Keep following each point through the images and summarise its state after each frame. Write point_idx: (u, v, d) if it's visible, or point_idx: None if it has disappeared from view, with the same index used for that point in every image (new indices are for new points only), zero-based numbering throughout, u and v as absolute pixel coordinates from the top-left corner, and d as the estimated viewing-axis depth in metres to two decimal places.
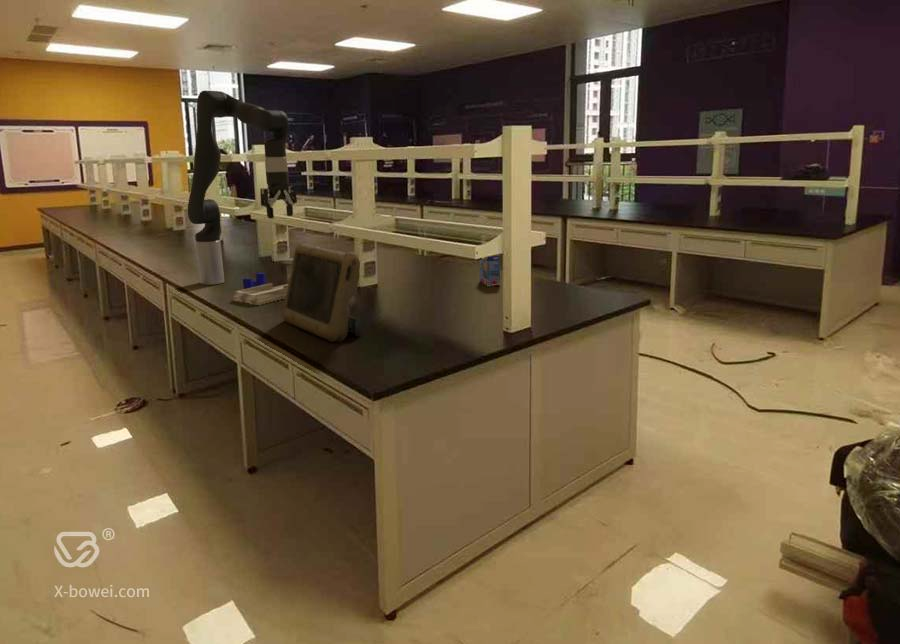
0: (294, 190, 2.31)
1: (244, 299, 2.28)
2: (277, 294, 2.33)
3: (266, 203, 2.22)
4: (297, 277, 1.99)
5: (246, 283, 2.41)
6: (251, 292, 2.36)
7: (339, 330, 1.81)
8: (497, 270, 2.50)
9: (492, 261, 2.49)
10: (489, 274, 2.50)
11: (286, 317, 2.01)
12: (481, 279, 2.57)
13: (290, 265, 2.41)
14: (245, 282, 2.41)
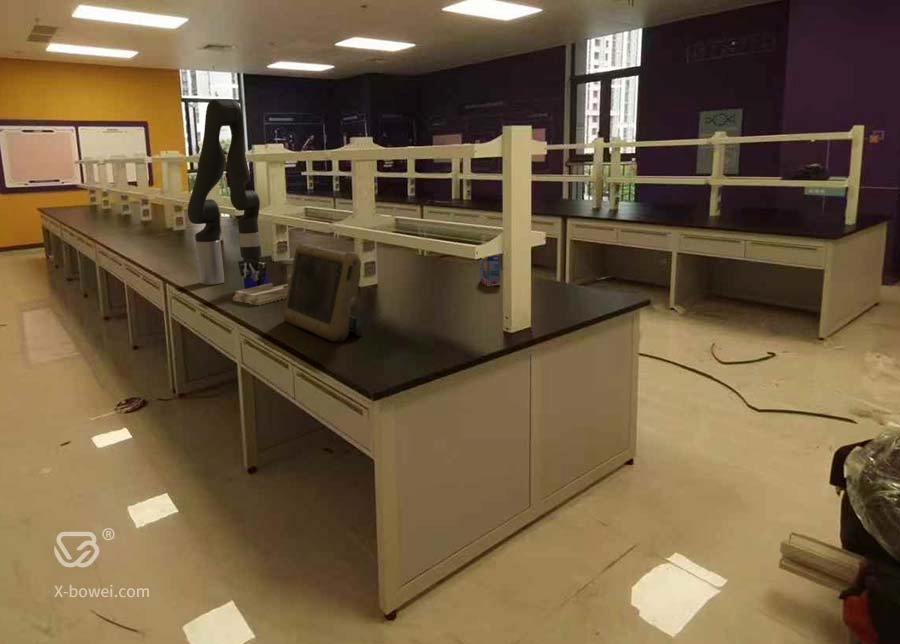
0: None
1: (244, 299, 2.28)
2: (277, 294, 2.33)
3: None
4: (298, 277, 1.99)
5: (247, 283, 2.41)
6: (251, 292, 2.36)
7: (340, 330, 1.82)
8: (497, 270, 2.50)
9: (492, 261, 2.49)
10: (489, 274, 2.50)
11: (287, 317, 2.01)
12: (481, 279, 2.57)
13: (290, 265, 2.41)
14: (246, 281, 2.41)
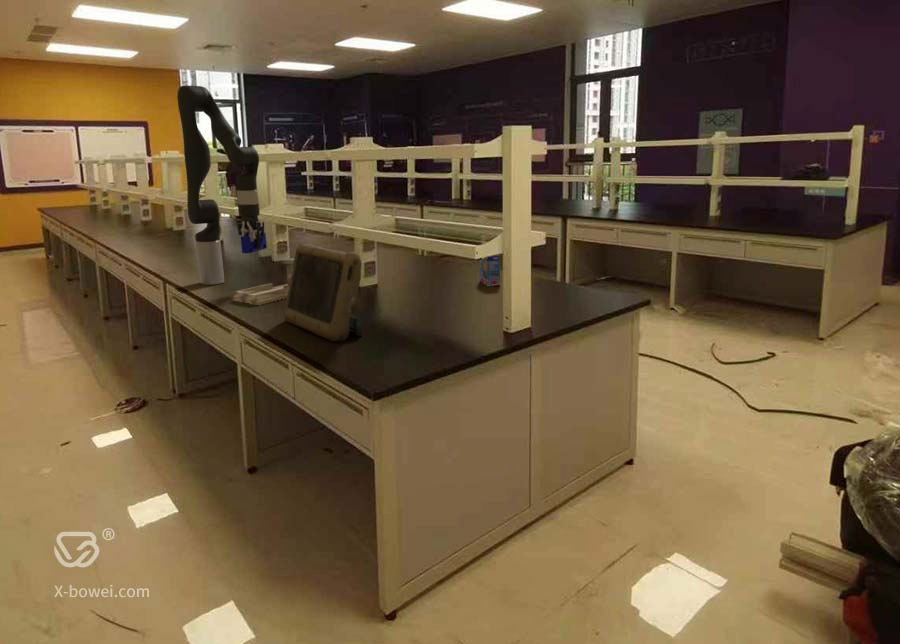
0: None
1: (244, 299, 2.28)
2: (277, 294, 2.33)
3: None
4: (298, 277, 1.99)
5: (244, 241, 2.38)
6: (251, 292, 2.36)
7: (340, 329, 1.82)
8: (497, 270, 2.50)
9: (492, 261, 2.49)
10: (489, 274, 2.50)
11: (287, 317, 2.01)
12: (481, 279, 2.57)
13: (290, 265, 2.41)
14: (243, 240, 2.38)
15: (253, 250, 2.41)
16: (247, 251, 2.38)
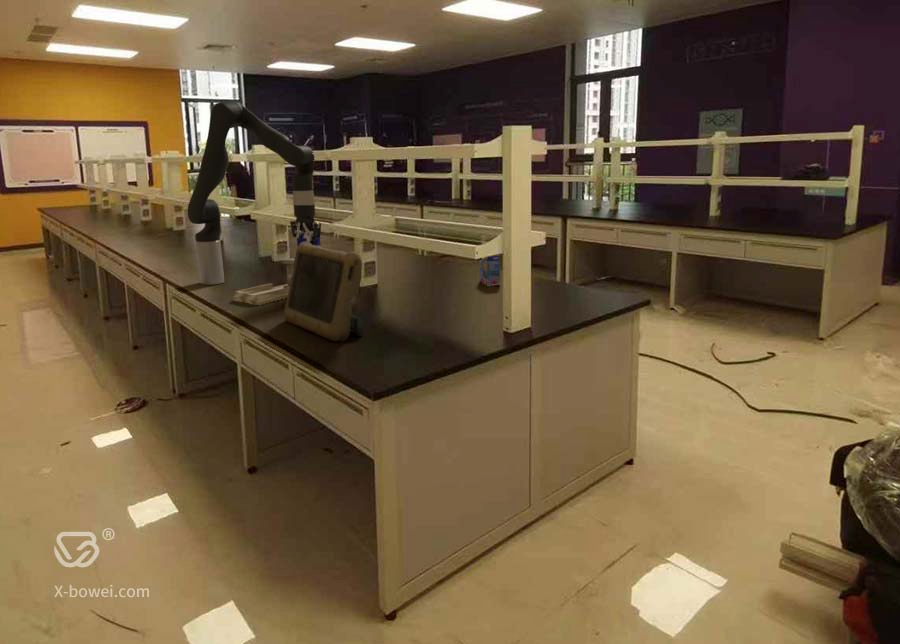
0: None
1: (244, 299, 2.28)
2: (277, 294, 2.33)
3: None
4: (299, 277, 2.00)
5: None
6: (251, 292, 2.36)
7: (341, 329, 1.82)
8: (497, 270, 2.50)
9: (492, 261, 2.49)
10: (489, 274, 2.50)
11: (288, 317, 2.01)
12: (481, 279, 2.57)
13: (290, 265, 2.41)
14: (299, 242, 2.31)
15: None
16: None
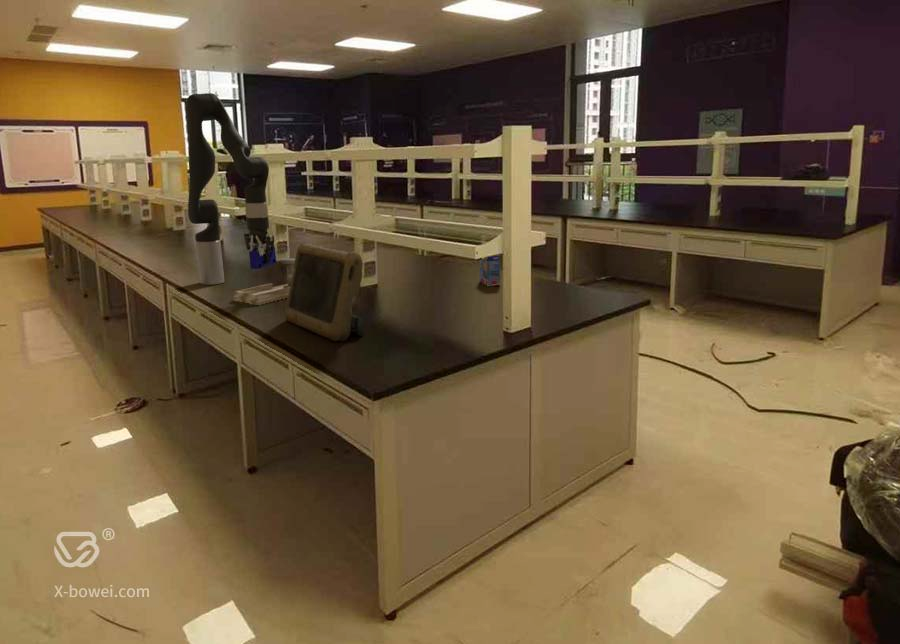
0: None
1: (244, 299, 2.28)
2: (277, 294, 2.33)
3: None
4: (299, 277, 2.00)
5: (253, 256, 2.26)
6: (251, 292, 2.36)
7: (342, 329, 1.82)
8: (497, 270, 2.50)
9: (492, 261, 2.49)
10: (489, 274, 2.50)
11: (288, 317, 2.01)
12: (481, 279, 2.57)
13: (290, 265, 2.41)
14: (251, 255, 2.26)
15: (262, 265, 2.29)
16: (256, 267, 2.26)
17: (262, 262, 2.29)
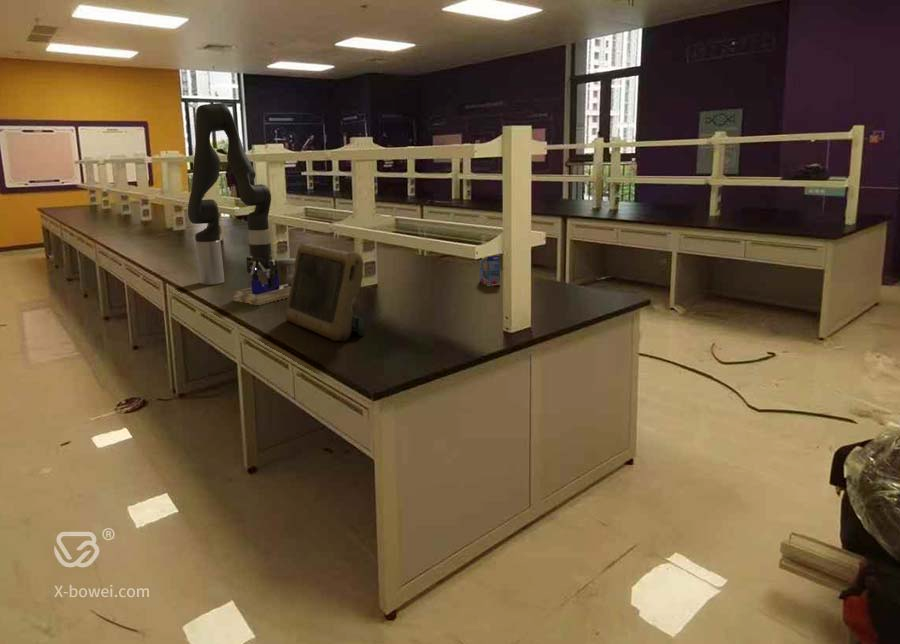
0: None
1: (244, 299, 2.28)
2: (277, 294, 2.33)
3: None
4: (300, 277, 2.00)
5: (254, 286, 2.29)
6: (251, 292, 2.36)
7: (342, 329, 1.82)
8: (497, 270, 2.50)
9: (492, 261, 2.49)
10: (489, 274, 2.50)
11: (289, 317, 2.02)
12: (481, 279, 2.57)
13: (290, 265, 2.41)
14: (253, 284, 2.29)
15: None
16: None
17: (264, 291, 2.31)
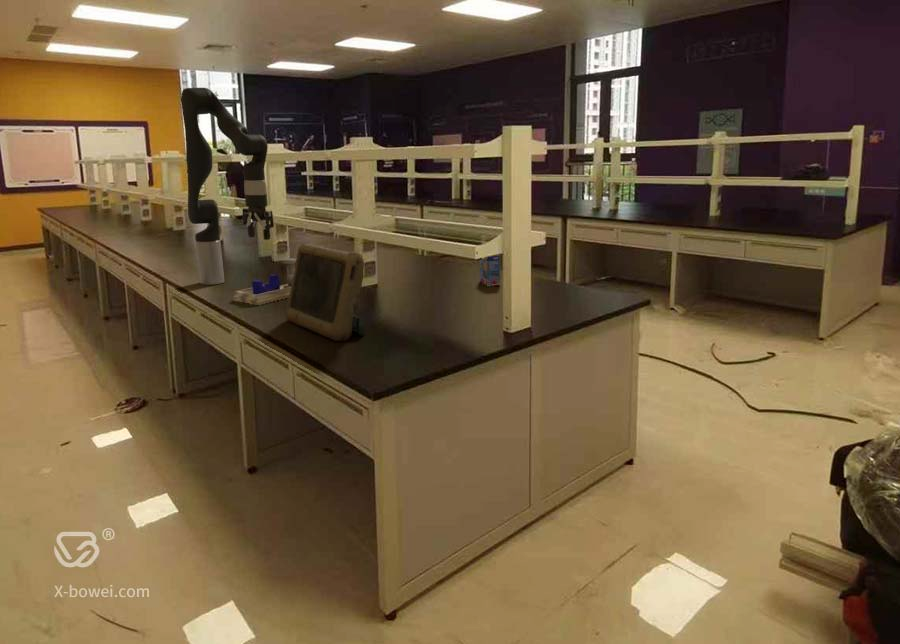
0: None
1: (244, 299, 2.28)
2: (277, 294, 2.33)
3: None
4: (300, 277, 2.00)
5: (255, 286, 2.29)
6: (251, 292, 2.36)
7: (343, 329, 1.82)
8: (497, 270, 2.50)
9: (492, 261, 2.49)
10: (489, 274, 2.50)
11: (290, 317, 2.02)
12: (481, 279, 2.57)
13: (290, 265, 2.41)
14: (254, 285, 2.29)
15: None
16: None
17: (265, 291, 2.31)
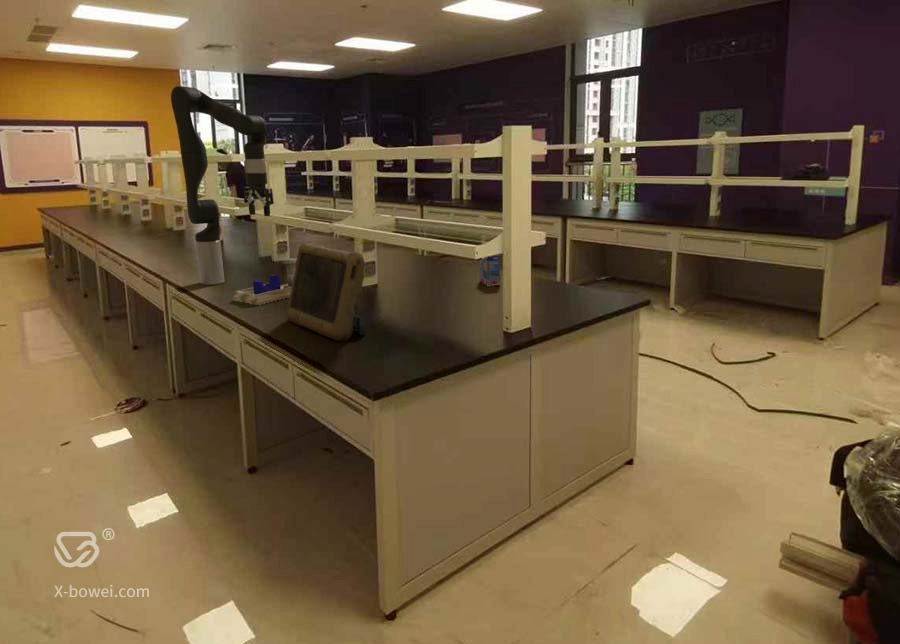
0: None
1: (244, 299, 2.28)
2: (277, 294, 2.33)
3: None
4: (301, 276, 2.00)
5: (256, 286, 2.28)
6: (251, 292, 2.36)
7: (344, 329, 1.82)
8: (497, 270, 2.50)
9: (492, 261, 2.49)
10: (489, 274, 2.50)
11: (290, 317, 2.02)
12: (481, 279, 2.57)
13: (290, 265, 2.41)
14: (255, 285, 2.28)
15: None
16: None
17: (266, 291, 2.31)
